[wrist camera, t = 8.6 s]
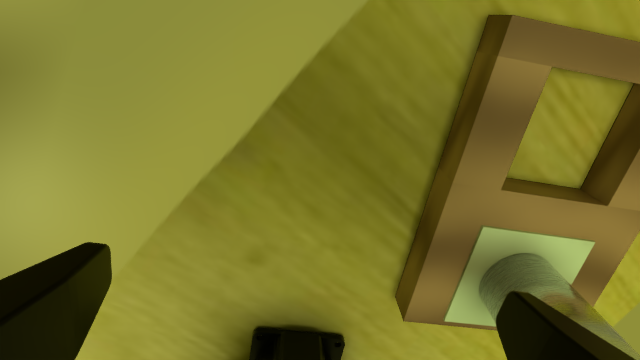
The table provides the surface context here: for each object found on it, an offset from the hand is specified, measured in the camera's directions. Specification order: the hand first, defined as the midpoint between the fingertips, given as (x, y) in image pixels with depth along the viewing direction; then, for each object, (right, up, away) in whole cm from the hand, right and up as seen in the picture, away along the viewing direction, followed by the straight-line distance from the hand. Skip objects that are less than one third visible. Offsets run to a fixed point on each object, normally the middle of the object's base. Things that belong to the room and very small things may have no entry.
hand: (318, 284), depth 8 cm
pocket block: (+13, +2, +14) cm, 19 cm away
